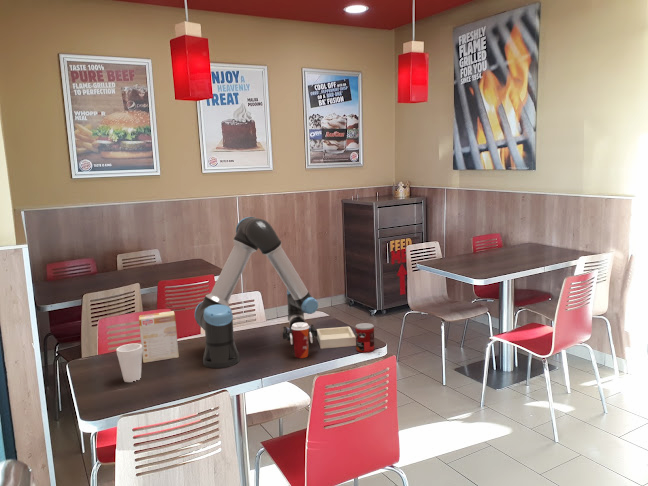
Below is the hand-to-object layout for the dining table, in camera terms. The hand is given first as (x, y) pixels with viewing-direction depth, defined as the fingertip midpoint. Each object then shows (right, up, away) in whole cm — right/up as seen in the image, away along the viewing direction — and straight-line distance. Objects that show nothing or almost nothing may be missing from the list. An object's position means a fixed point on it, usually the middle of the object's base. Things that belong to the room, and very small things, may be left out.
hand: (301, 340), depth 220 cm
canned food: (+27, -6, +10) cm, 30 cm away
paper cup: (0, -8, +6) cm, 10 cm away
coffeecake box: (-62, -10, +11) cm, 64 cm away
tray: (+15, -5, +23) cm, 27 cm away
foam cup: (-66, -13, -12) cm, 69 cm away
